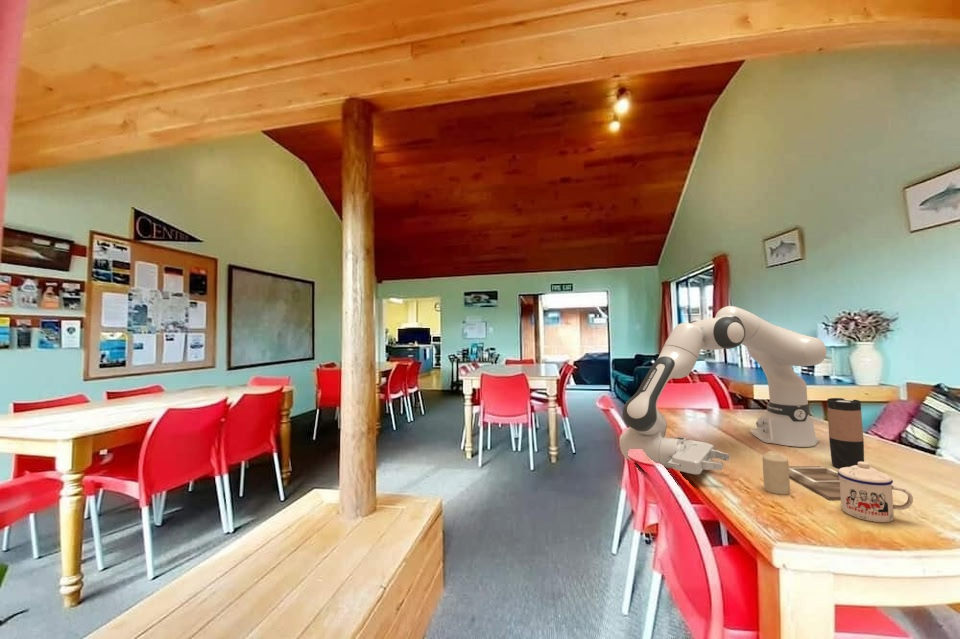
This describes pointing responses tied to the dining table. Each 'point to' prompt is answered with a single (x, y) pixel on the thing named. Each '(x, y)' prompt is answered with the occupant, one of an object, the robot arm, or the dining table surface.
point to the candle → (776, 473)
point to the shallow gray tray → (817, 480)
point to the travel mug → (845, 432)
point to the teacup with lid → (869, 493)
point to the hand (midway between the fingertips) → (725, 461)
